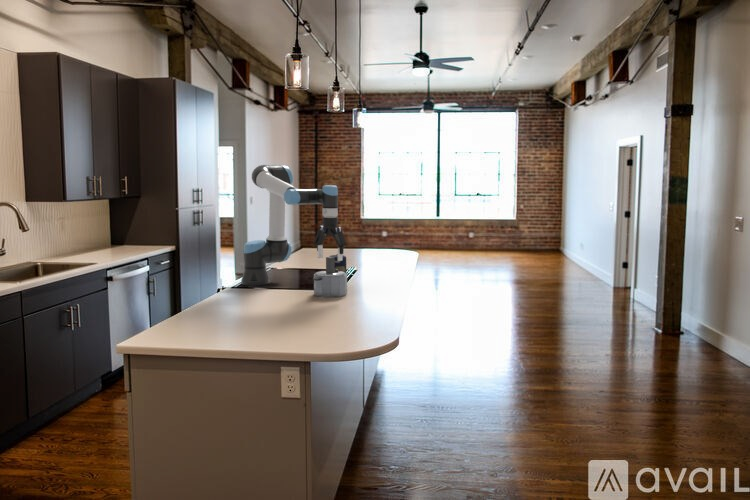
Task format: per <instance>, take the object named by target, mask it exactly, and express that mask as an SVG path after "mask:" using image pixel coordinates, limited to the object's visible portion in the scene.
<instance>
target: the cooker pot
mask: <svg viewBox="0 0 750 500" xmlns="http://www.w3.org/2000/svg"><path fill="white" fill-rule="evenodd" d="M312 281H313V295H315V296H316V297H321V298H338V297H344V296H346V295H348V272H347V273H345V275H343V276H337V277H322V276H317V275H315V273H314V274H313V278H312Z"/></svg>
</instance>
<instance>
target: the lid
mask: <svg viewBox="0 0 750 500" xmlns="http://www.w3.org/2000/svg"><path fill="white" fill-rule="evenodd" d="M314 274H315V275H317V276H322V277H337V276H343V275H345V272H341V271H338V269H335V257H329V256H327V257H325V270H321V271H316V272H315V273H314Z"/></svg>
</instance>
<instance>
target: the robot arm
mask: <svg viewBox="0 0 750 500" xmlns="http://www.w3.org/2000/svg"><path fill="white" fill-rule="evenodd" d="M251 173H252V174H251V180H252V183H253V184H254V185H255V186H256V187H258V188H259V189H266V190H267V191H268V193H269V207H268V208H269V209H268V210H269V212H268V213H269V216H268V220H269V221H268V236H267V237H266V238H265V240H263V239H258V240H251V241H248V242H247V241H246V242H245V243H244V245H243V266H244V270H243V274H242V278H241V283H240V284H241V285H242V286H249V287H250V286H252V287H255V286H259V287H260V286H266V285H268V284H270V277H269V275H268V271H267V264H275V263H282V262H286V261H287V260H289V258H291V254H292V246H291V243H290V242H289V241H288V238H287V236H285V233H286V231H285V230H286V229H285V228H286V204H287V205H289V206H297V205H322V207H321V208H322V219H321V220H322V225H318V229H317V232H316V235H315V238H314V240H313V244H315V245H316V251H317V259H322V258H324V257H323V256H324V255H323V254H324V253H323V252H324V250H323V249H324V248H323V247H324V246H323V243H324V241H325V239H326V238H327V236H330V237H332V238H333V239H334V241H335V242H336V244H337V254H338V261H342V260H343V255H344V248H345V247H347V246H348V245H347V242H346V239H345V236H344V233H343V227H342V226H339V227H337V226H338V224H339V221H338V220H339V218H338V216H339V215H338V214H339V213H338V209H339V205H338V204H339V201H338V200H339V196H338V195H339V192H338V191H339V190H338V186H337V185H332V184H331V185H326V184H325V185H322V189H321V188H298V187H296V186H293V185H292V183H293V181H294V175H293V172H292V170H291V169H290V167H289V166H287V165H282V164H261V165H258V166H257V167H255V168H254V169H253V170H252V172H251Z"/></svg>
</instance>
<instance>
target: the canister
mask: <svg viewBox="0 0 750 500" xmlns="http://www.w3.org/2000/svg"><path fill="white" fill-rule="evenodd" d="M328 257H335V269H338V271H341V272H345V273H347V274H348V272H347V271H348V270H347V256H346V255H344V254H343V260H342V261H338V253H336V254H332V255H329V256H328Z"/></svg>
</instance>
